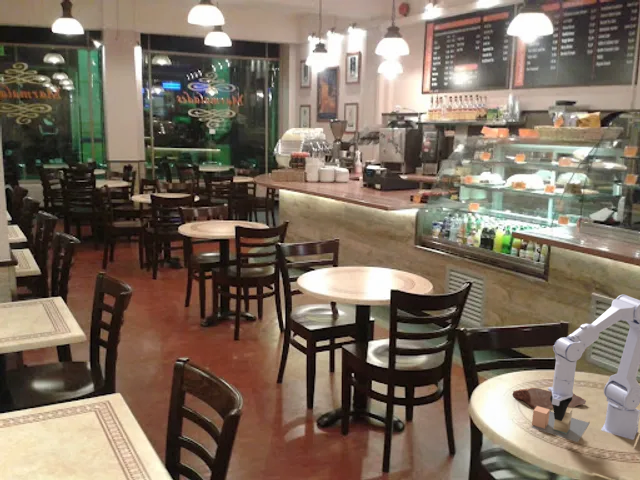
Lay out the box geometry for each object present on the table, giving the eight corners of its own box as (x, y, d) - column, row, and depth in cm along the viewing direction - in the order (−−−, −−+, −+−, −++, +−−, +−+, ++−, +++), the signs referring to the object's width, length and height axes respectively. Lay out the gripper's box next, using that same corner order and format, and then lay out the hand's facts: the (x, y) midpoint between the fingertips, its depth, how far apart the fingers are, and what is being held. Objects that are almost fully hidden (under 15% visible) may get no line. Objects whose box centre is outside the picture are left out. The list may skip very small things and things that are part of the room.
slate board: (589, 424, 202) (589, 422, 202) (577, 443, 190) (577, 441, 189) (545, 411, 210) (545, 410, 210) (531, 429, 197) (531, 427, 197)
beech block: (569, 429, 197) (572, 408, 196) (566, 434, 194) (569, 413, 193) (556, 425, 200) (559, 404, 198) (553, 429, 196) (556, 409, 195)
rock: (593, 407, 213) (582, 379, 218) (529, 411, 208) (520, 383, 214) (578, 416, 221) (568, 389, 227) (516, 421, 216) (508, 393, 222)
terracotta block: (548, 424, 200) (549, 409, 199) (544, 428, 197) (546, 413, 196) (535, 420, 202) (537, 405, 201) (531, 424, 199) (533, 410, 198)
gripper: (556, 367, 196) (551, 407, 199) (543, 381, 184) (538, 423, 187) (580, 373, 192) (574, 413, 195) (568, 387, 180) (562, 431, 183)
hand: (558, 419), depth 190 cm, fingers closed
